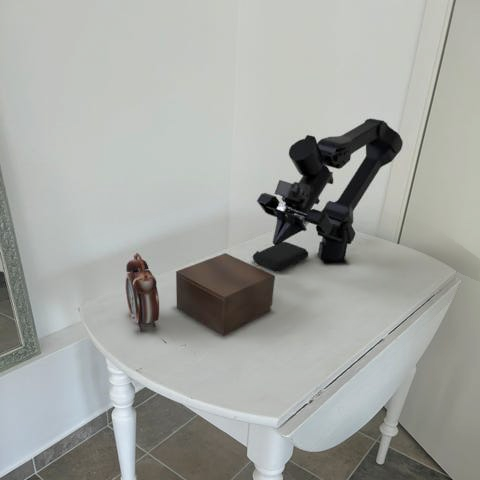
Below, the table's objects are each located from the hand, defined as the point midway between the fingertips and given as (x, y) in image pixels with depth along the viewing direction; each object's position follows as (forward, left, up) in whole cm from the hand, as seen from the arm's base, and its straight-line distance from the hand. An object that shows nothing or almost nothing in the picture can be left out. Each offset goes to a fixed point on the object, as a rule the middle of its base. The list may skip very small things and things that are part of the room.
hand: (274, 244), depth 109 cm
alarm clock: (+30, +13, -12) cm, 35 cm away
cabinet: (+13, +9, -11) cm, 19 cm away
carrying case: (-6, -15, -12) cm, 20 cm away
